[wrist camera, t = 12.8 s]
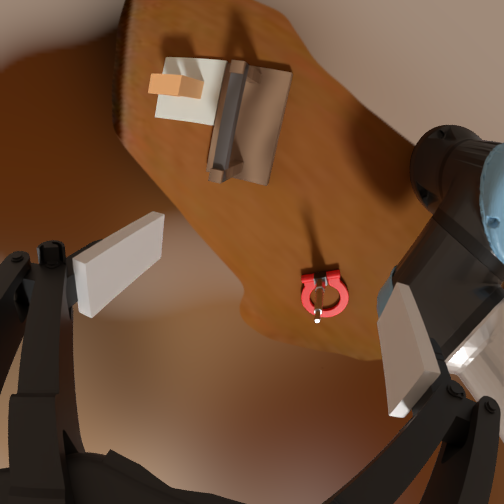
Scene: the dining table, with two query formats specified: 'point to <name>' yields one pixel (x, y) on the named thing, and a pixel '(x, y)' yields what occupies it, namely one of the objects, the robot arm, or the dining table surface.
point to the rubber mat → (191, 107)
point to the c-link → (175, 85)
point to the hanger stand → (248, 123)
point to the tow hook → (319, 283)
